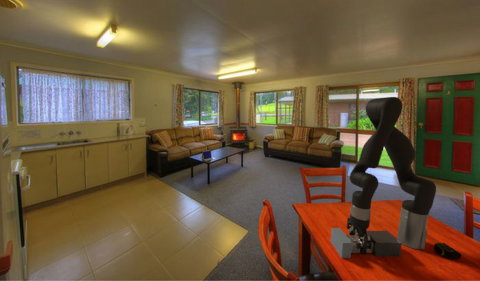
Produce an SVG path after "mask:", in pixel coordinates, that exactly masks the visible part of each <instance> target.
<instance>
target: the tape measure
mask: <svg viewBox="0 0 480 281" xmlns="http://www.w3.org/2000/svg"><path fill="white" fill-rule="evenodd" d="M433 247H434V248H433V249H434V251H435V253H437V254H438V255H440V256H442V257H444V258H447V259H450V260H456V259H461V258H462V254H461V252H459V251H458V250H456V249H455V248H453V247H452V246H450V245H448V244H447V243H445V242H442V243H441V242H436V243H434V246H433Z"/></svg>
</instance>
